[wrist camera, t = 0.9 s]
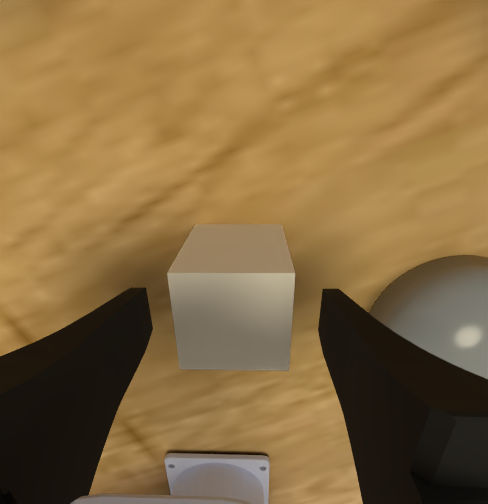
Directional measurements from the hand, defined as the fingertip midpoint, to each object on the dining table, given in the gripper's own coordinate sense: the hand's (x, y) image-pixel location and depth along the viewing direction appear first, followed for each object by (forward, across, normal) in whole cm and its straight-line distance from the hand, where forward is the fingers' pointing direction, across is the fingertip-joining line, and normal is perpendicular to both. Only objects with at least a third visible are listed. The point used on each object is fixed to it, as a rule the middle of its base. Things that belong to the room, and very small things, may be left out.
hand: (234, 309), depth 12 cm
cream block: (+4, 0, 0) cm, 5 cm away
